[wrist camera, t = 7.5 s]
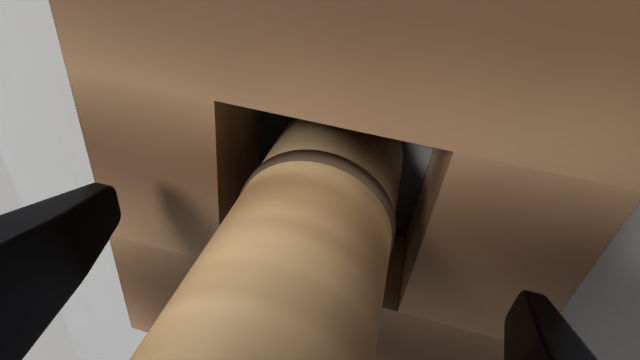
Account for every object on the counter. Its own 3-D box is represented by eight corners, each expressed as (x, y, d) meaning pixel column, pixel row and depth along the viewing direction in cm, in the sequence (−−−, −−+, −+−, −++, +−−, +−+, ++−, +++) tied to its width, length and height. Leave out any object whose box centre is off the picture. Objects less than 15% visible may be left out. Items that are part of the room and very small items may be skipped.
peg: (389, 216, 13) (341, 523, 7) (278, 190, 14) (132, 452, 7) (419, 111, 11) (388, 412, 5) (285, 83, 11) (86, 322, 5)
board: (470, 346, 16) (475, 429, 13) (175, 266, 17) (131, 327, 15) (721, -102, 7) (854, -100, 5) (115, -178, 9) (-4, -205, 7)
